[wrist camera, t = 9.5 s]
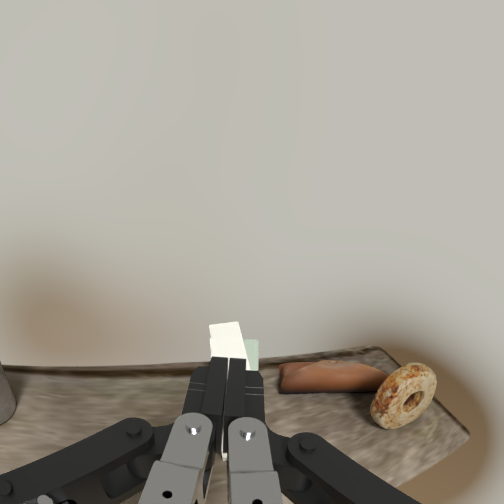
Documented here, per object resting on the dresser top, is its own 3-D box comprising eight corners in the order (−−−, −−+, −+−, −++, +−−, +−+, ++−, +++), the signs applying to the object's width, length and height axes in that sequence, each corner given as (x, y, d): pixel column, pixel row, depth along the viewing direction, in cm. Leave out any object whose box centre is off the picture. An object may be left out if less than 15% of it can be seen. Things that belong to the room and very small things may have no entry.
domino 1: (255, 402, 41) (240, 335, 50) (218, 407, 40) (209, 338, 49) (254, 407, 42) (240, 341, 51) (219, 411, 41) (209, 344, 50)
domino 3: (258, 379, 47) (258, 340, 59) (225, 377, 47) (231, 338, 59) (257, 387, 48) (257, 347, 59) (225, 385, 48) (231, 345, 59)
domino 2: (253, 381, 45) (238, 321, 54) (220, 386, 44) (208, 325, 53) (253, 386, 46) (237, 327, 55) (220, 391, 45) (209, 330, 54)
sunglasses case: (373, 363, 53) (387, 347, 48) (377, 399, 49) (393, 386, 44) (275, 364, 53) (280, 347, 48) (275, 402, 48) (280, 389, 44)
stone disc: (372, 440, 36) (394, 386, 33) (360, 423, 39) (379, 369, 36) (426, 419, 38) (450, 368, 35) (413, 406, 42) (435, 354, 39)
